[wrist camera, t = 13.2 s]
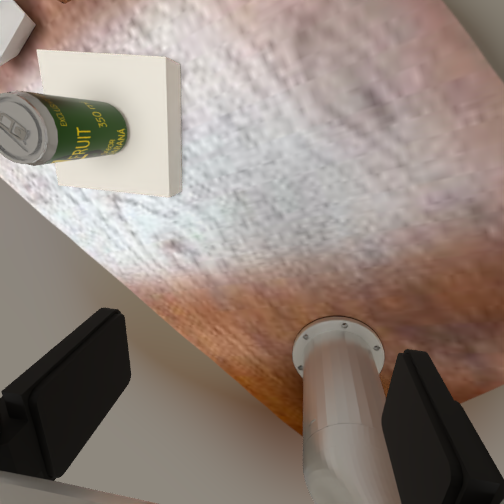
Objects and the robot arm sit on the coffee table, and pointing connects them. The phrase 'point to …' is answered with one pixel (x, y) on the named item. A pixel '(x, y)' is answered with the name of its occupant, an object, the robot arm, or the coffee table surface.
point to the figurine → (13, 29)
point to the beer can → (58, 128)
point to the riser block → (134, 112)
